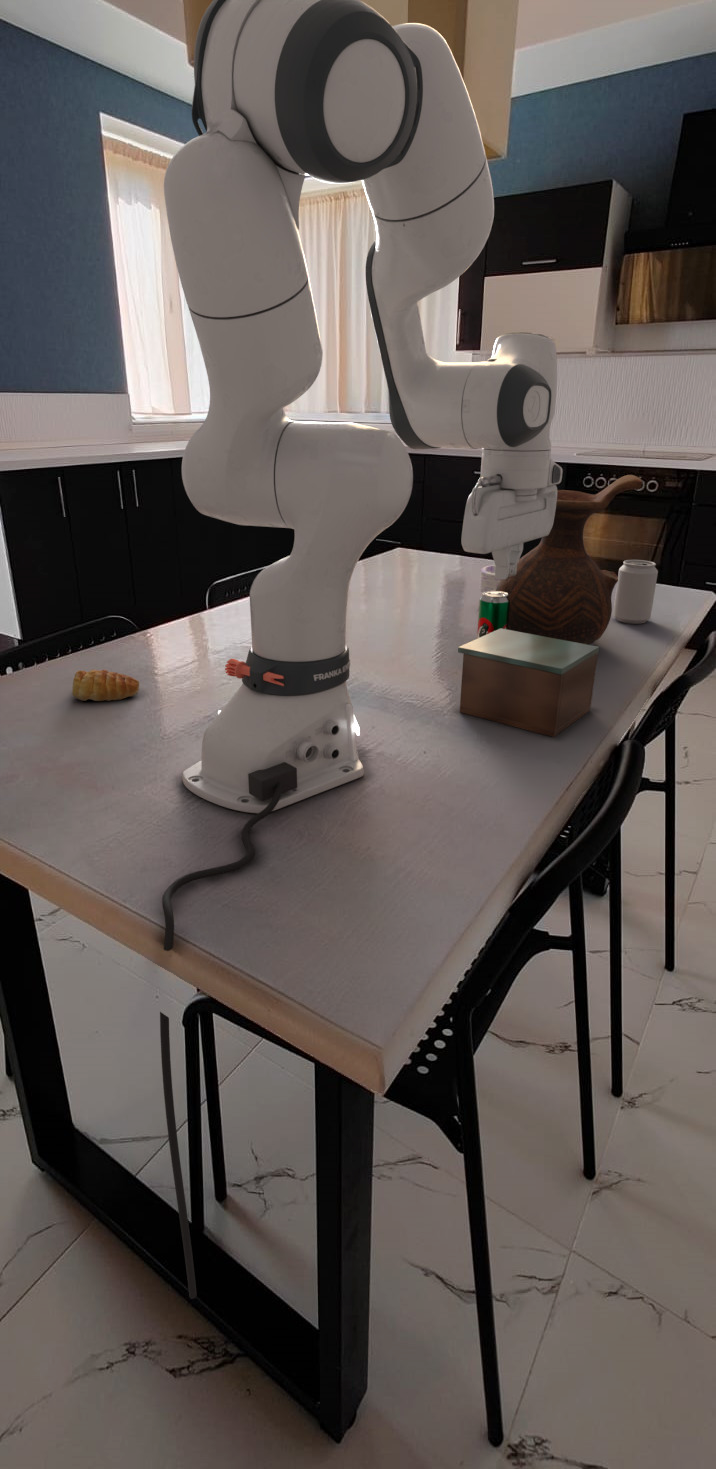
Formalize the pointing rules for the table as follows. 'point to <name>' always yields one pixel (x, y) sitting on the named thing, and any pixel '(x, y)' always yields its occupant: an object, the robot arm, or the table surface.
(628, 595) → the can
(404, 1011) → the table surface
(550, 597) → the jug
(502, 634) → the lid
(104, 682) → the pastry
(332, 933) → the table surface
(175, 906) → the table surface
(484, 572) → the paper bowls
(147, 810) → the table surface
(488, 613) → the soda can
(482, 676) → the chest
